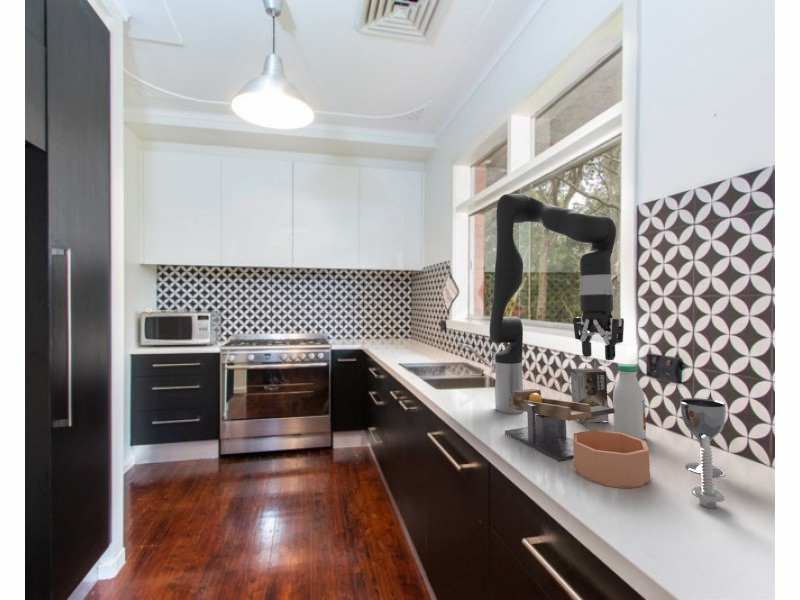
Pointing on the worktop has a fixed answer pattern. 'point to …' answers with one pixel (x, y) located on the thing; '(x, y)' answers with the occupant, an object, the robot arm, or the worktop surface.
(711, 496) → the screw
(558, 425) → the lever stand
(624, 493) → the worktop surface
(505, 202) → the robot arm
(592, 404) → the coffee box
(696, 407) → the wine glass
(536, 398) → the ball
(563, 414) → the seesaw lever
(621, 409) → the milk bottle
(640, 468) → the bowl
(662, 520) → the worktop surface
